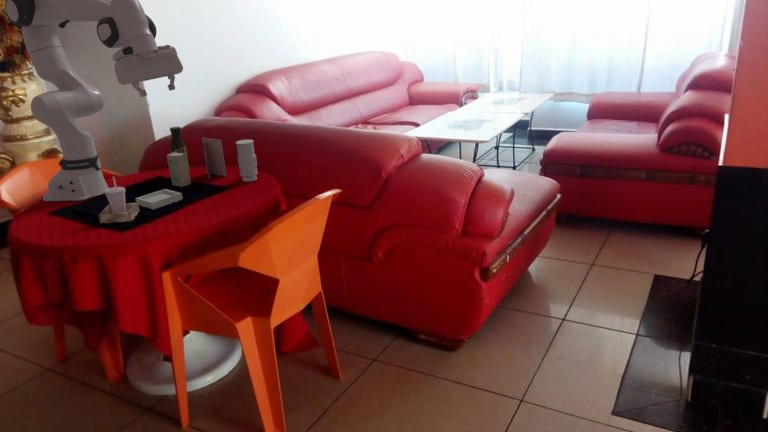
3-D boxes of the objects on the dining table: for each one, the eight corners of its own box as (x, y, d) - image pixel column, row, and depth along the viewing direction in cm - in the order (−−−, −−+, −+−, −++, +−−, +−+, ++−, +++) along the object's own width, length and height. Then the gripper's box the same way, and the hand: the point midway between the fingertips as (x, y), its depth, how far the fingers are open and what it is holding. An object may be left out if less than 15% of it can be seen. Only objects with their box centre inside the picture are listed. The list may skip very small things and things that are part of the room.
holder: (100, 223, 194) (98, 215, 193) (109, 213, 203) (107, 205, 202) (132, 221, 195) (130, 212, 194) (139, 210, 204) (137, 202, 203)
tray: (152, 209, 205) (151, 202, 204) (136, 204, 210) (135, 198, 210) (182, 199, 214) (181, 193, 213) (166, 195, 219) (165, 188, 218)
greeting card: (205, 173, 245) (199, 137, 239) (223, 170, 247) (218, 135, 242) (208, 180, 235) (202, 143, 229) (227, 177, 237) (222, 140, 232)
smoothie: (123, 221, 195) (114, 180, 190) (106, 220, 197) (97, 179, 192) (134, 214, 201) (126, 174, 196) (117, 213, 202) (109, 174, 197)
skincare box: (191, 184, 231) (186, 153, 227) (182, 187, 228) (177, 156, 223) (180, 182, 234) (175, 151, 230) (171, 185, 231) (166, 154, 227)
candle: (256, 181, 231) (251, 143, 225) (238, 182, 231) (233, 144, 226) (260, 176, 237) (255, 139, 232) (242, 176, 237) (238, 139, 232)
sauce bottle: (181, 178, 239) (172, 129, 232) (170, 176, 242) (162, 128, 235) (193, 174, 244) (185, 126, 237) (183, 172, 247) (175, 125, 240)
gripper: (169, 46, 192) (184, 88, 195) (106, 57, 179) (123, 102, 182) (177, 41, 188) (192, 84, 190) (113, 51, 175) (130, 97, 177)
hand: (158, 93), depth 186 cm, fingers open, 8 cm apart
